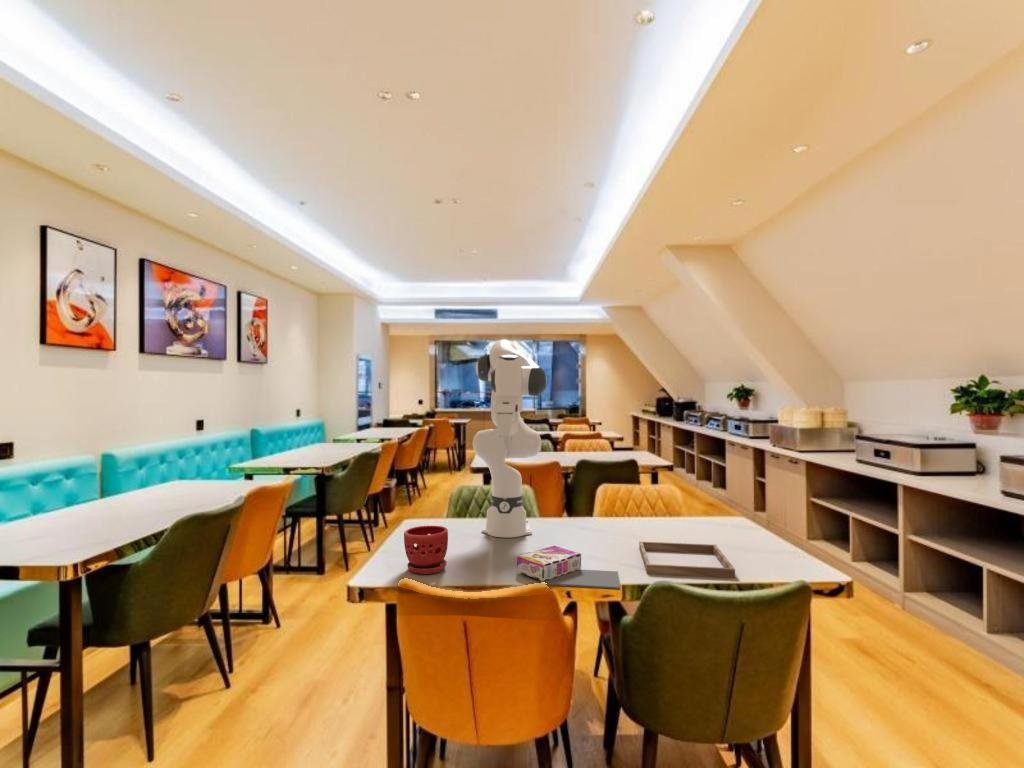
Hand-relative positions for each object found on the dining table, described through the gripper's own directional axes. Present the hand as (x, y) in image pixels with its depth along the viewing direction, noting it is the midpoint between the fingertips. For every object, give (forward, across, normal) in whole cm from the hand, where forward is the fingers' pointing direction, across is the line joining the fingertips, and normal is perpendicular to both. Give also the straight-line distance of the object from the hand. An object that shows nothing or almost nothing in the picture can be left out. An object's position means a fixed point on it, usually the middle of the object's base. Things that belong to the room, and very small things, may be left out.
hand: (508, 449), depth 176 cm
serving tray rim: (+35, -7, +55) cm, 66 cm away
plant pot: (+35, +12, -23) cm, 44 cm away
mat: (+35, +13, +23) cm, 44 cm away
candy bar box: (+32, +2, +19) cm, 37 cm away
